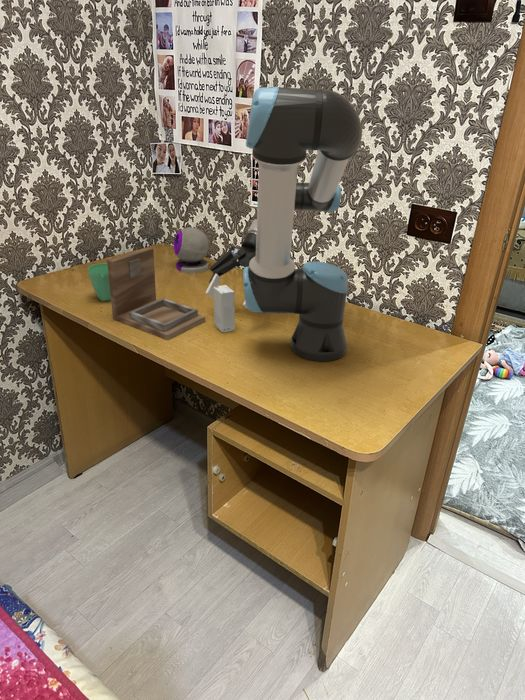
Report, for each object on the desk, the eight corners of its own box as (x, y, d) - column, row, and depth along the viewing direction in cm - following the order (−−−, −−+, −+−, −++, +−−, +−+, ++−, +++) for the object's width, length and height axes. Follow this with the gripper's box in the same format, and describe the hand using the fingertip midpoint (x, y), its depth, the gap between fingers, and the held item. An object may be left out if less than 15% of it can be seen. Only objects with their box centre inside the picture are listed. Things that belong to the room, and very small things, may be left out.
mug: (99, 306, 164) (96, 275, 159) (85, 296, 170) (82, 266, 166) (141, 296, 173) (139, 266, 168) (127, 287, 179) (124, 258, 174)
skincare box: (235, 330, 153) (236, 291, 147) (221, 333, 151) (221, 293, 145) (226, 322, 158) (227, 284, 152) (212, 324, 156) (212, 286, 150)
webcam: (172, 262, 203) (170, 224, 196) (204, 260, 207) (204, 222, 200) (177, 274, 192) (176, 233, 185) (212, 271, 196) (212, 231, 189)
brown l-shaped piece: (205, 321, 158) (204, 263, 149) (167, 340, 146) (164, 278, 137) (151, 302, 168) (148, 247, 160) (112, 318, 156) (107, 260, 148)
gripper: (298, 254, 154) (267, 317, 150) (230, 237, 166) (199, 296, 162) (290, 240, 147) (256, 306, 143) (220, 223, 160) (187, 284, 156)
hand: (226, 300), depth 153 cm, fingers open, 13 cm apart
